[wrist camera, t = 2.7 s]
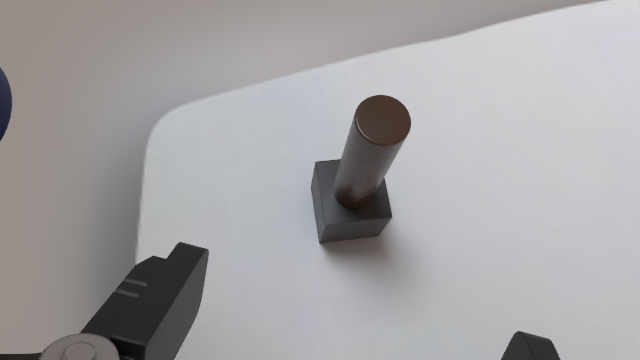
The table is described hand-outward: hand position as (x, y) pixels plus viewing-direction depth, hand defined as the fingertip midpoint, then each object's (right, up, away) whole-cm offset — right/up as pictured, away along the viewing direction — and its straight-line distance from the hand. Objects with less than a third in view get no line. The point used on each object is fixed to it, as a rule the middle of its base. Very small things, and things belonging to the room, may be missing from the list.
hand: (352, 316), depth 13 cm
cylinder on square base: (+1, +2, +17) cm, 18 cm away
